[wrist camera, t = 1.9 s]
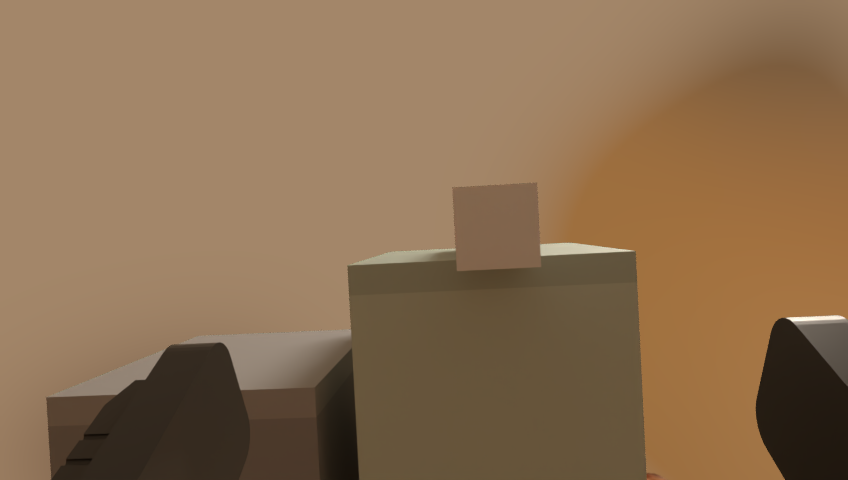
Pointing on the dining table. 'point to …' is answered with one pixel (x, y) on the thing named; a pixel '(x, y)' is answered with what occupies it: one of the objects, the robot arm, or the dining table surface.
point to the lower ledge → (278, 445)
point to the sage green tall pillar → (498, 367)
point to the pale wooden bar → (496, 227)
